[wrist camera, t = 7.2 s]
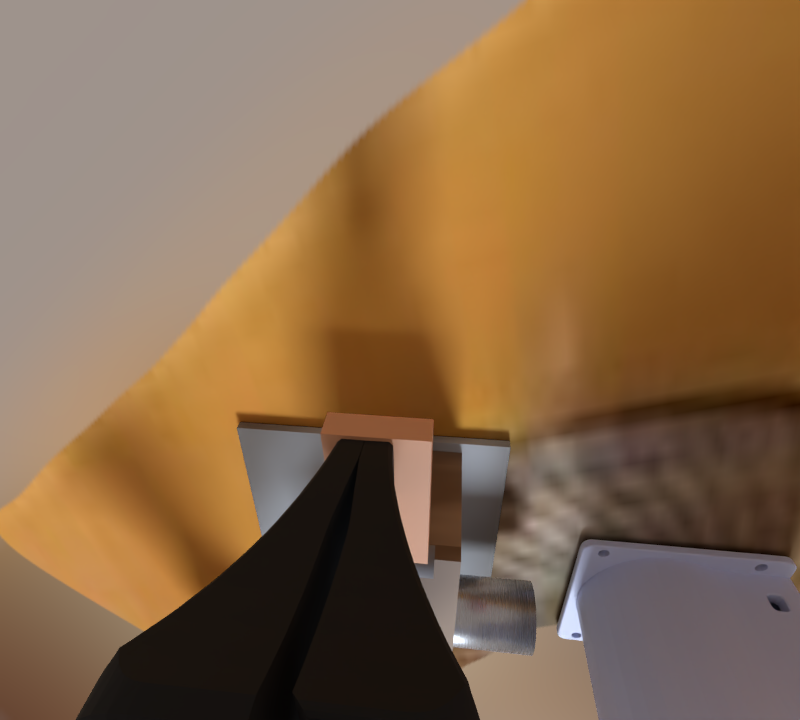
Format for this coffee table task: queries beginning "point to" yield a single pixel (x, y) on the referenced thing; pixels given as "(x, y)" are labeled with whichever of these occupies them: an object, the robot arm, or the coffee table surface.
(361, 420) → the block
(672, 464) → the coffee table surface
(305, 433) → the block
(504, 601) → the pin
